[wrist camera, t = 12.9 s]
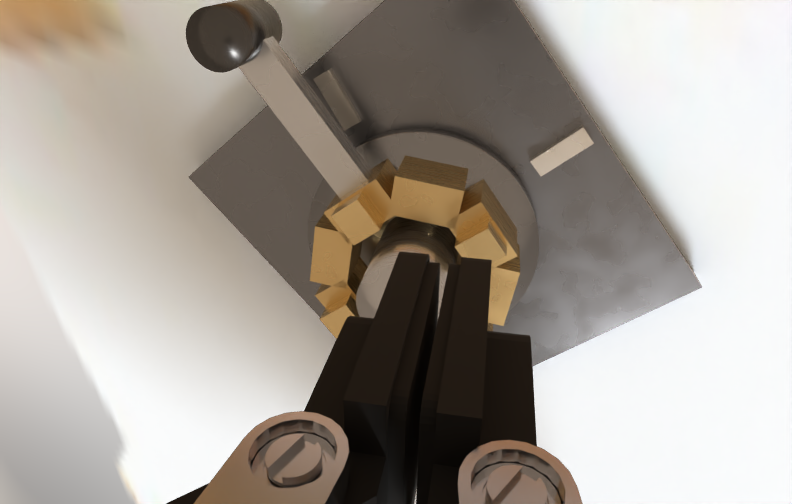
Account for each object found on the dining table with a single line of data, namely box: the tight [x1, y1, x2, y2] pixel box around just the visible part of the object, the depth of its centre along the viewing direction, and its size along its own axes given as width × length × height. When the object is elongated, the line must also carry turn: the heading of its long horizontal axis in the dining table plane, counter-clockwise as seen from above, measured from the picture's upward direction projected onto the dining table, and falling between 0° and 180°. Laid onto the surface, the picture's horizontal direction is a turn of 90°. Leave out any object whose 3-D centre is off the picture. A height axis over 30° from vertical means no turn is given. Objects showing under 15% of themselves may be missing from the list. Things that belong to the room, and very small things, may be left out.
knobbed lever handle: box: [186, 0, 520, 339], centre depth 28 cm, size 20×10×4 cm, turn 36°
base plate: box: [189, 0, 702, 366], centre depth 30 cm, size 20×22×8 cm
